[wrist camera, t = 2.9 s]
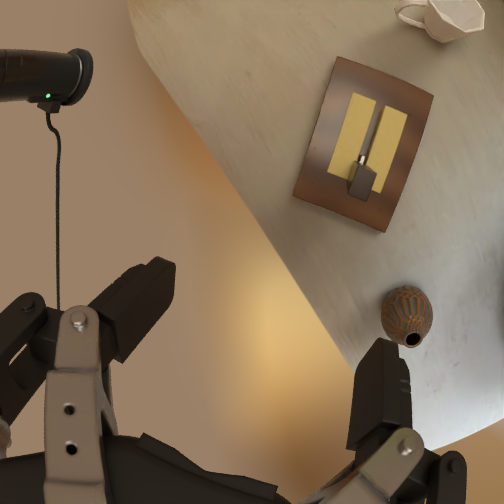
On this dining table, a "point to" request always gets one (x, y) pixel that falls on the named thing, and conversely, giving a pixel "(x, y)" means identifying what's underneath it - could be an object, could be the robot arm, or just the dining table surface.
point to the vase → (406, 316)
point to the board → (328, 130)
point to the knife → (360, 179)
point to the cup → (446, 17)
